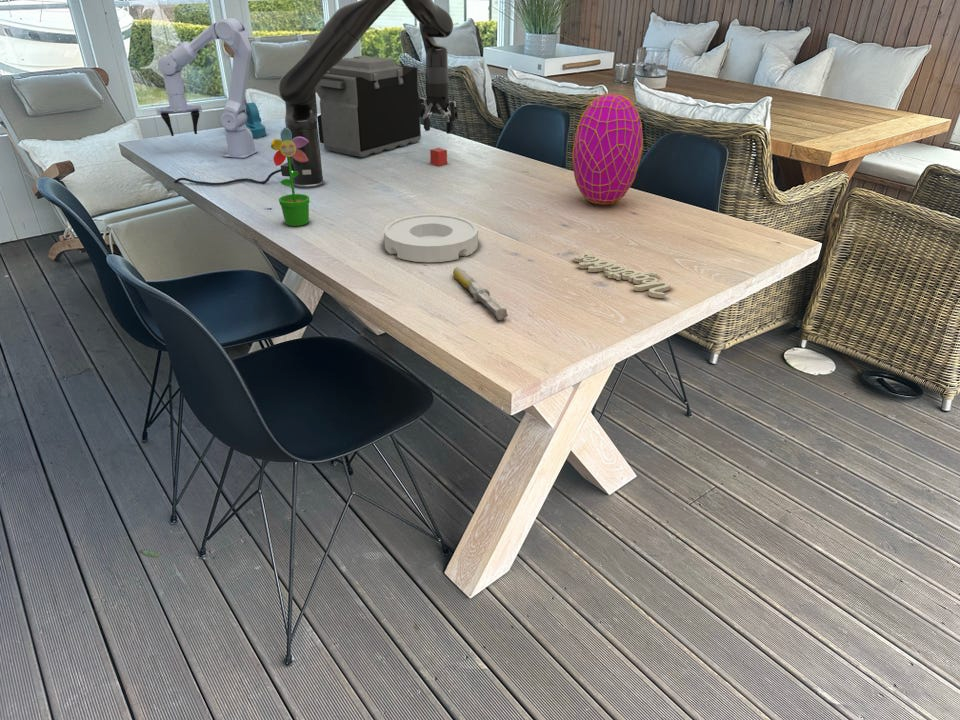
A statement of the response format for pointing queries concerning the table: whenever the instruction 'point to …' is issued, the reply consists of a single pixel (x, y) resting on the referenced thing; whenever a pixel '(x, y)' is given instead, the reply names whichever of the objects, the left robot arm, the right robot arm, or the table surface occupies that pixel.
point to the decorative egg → (607, 148)
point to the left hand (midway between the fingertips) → (184, 134)
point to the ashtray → (431, 237)
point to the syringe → (479, 293)
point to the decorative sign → (625, 274)
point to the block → (438, 156)
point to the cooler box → (368, 106)
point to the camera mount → (254, 121)
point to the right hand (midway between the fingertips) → (438, 132)
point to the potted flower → (291, 178)
